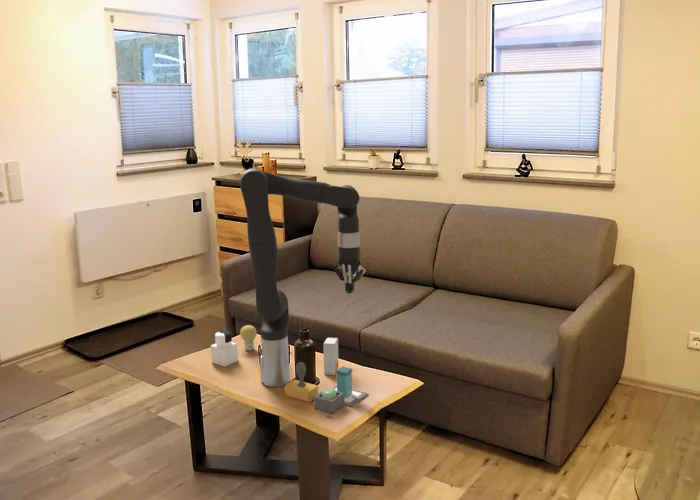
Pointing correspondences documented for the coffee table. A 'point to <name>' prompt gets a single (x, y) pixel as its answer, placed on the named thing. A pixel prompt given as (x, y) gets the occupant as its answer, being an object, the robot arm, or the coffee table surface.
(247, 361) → the coffee table surface
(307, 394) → the rubber stamp
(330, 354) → the skincare box
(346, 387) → the teal lidded box
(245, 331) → the light bulb
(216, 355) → the medicine bottle
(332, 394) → the button
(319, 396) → the button housing
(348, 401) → the clipboard
